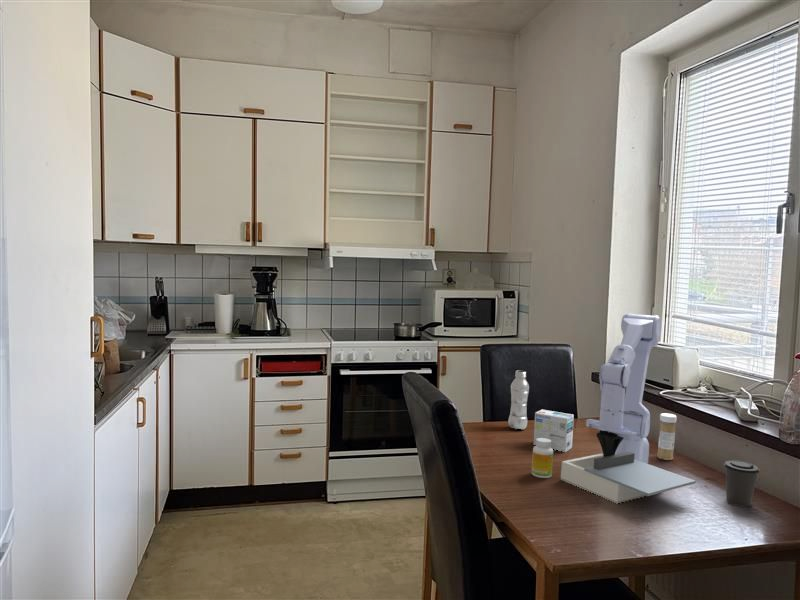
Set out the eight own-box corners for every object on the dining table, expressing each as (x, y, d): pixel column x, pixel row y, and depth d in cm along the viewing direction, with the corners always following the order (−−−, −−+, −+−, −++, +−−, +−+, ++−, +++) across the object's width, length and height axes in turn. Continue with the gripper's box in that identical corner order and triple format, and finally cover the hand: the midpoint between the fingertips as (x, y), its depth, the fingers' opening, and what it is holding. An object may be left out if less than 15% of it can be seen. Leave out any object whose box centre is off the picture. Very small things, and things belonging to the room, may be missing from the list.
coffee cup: (760, 510, 149) (763, 470, 148) (722, 504, 151) (726, 465, 151) (753, 499, 156) (757, 460, 156) (718, 493, 159) (721, 455, 158)
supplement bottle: (552, 479, 164) (554, 443, 163) (531, 477, 165) (533, 441, 164) (551, 472, 169) (553, 438, 168) (531, 470, 170) (533, 436, 169)
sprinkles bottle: (661, 454, 190) (665, 412, 189) (676, 459, 186) (679, 415, 185) (654, 457, 187) (657, 413, 186) (668, 461, 183) (672, 417, 182)
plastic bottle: (508, 430, 209) (511, 372, 208) (507, 425, 216) (511, 369, 214) (527, 432, 208) (530, 374, 207) (526, 427, 215) (530, 370, 213)
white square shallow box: (605, 469, 173) (606, 452, 173) (662, 491, 158) (664, 472, 158) (560, 479, 164) (561, 461, 163) (617, 504, 149) (618, 484, 148)
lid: (631, 460, 167) (631, 449, 167) (695, 483, 151) (696, 471, 151) (584, 470, 157) (585, 458, 157) (648, 496, 141) (649, 483, 141)
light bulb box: (572, 448, 193) (574, 414, 192) (565, 453, 187) (568, 418, 187) (539, 441, 199) (541, 408, 198) (532, 446, 193) (534, 412, 192)
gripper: (579, 404, 165) (576, 454, 166) (625, 417, 153) (621, 471, 153) (597, 402, 169) (594, 450, 169) (643, 414, 156) (639, 467, 157)
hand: (608, 460), depth 162 cm, fingers closed
